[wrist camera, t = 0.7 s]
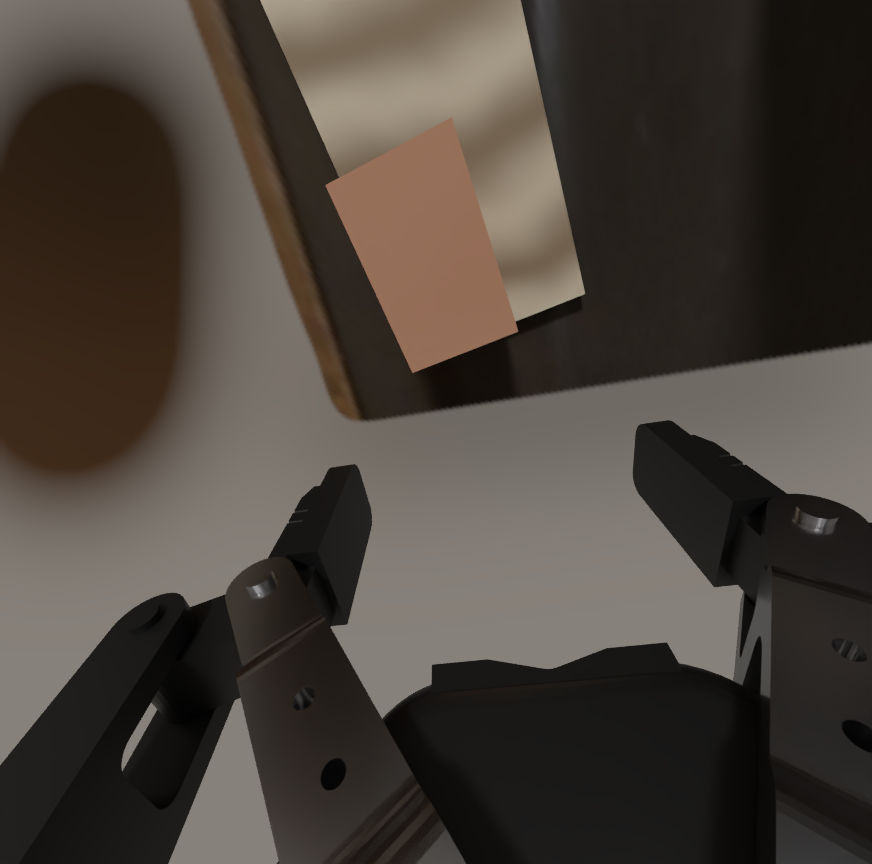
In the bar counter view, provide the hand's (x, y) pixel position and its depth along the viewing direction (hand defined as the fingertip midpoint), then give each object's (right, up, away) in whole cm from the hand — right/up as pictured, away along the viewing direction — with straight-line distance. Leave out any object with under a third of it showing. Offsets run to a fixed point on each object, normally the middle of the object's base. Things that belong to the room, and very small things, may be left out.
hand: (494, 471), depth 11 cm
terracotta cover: (-2, +14, +15) cm, 20 cm away
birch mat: (-2, +19, +13) cm, 24 cm away
